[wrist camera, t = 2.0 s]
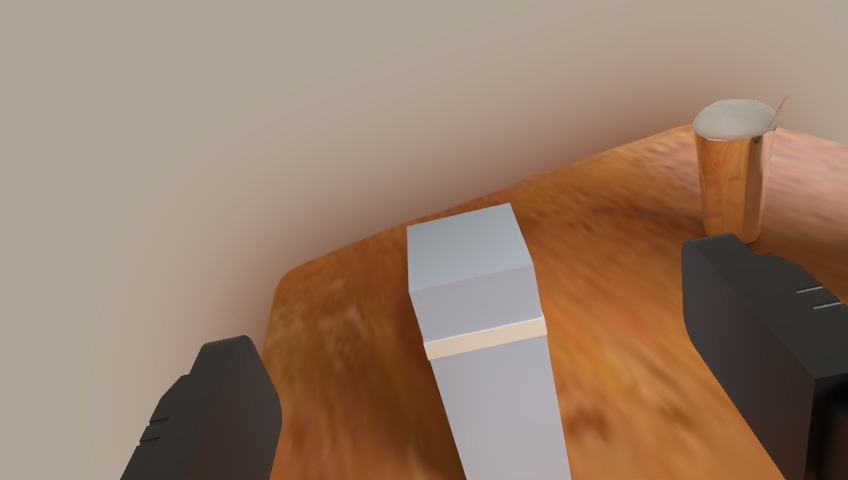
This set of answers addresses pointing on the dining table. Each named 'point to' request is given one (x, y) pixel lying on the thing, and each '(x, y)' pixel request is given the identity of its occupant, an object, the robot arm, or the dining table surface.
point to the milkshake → (735, 164)
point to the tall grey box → (488, 344)
